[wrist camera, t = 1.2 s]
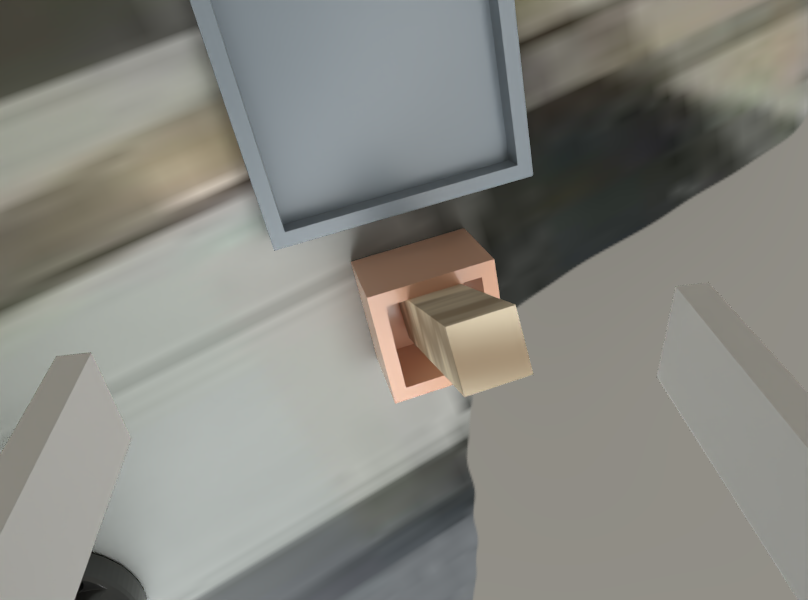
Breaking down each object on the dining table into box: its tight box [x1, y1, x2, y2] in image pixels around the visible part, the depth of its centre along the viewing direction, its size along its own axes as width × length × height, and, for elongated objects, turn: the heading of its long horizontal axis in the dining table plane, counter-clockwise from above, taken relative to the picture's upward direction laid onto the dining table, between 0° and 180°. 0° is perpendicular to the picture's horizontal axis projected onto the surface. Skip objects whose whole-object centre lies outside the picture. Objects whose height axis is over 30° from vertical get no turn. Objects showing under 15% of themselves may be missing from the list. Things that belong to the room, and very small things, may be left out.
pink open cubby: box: [351, 228, 500, 404], centre depth 45 cm, size 9×9×6 cm
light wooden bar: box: [399, 284, 533, 397], centre depth 38 cm, size 8×4×16 cm, turn 12°
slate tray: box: [190, 0, 533, 251], centre depth 36 cm, size 26×18×2 cm
